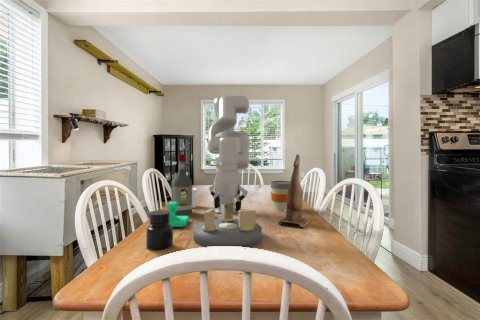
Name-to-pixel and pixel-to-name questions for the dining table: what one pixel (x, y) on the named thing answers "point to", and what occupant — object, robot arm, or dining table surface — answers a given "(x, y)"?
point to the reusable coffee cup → (279, 194)
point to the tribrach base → (228, 230)
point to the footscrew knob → (227, 212)
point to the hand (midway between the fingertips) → (227, 209)
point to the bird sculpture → (294, 198)
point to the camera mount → (176, 220)
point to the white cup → (194, 197)
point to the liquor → (182, 189)
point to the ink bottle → (159, 231)
